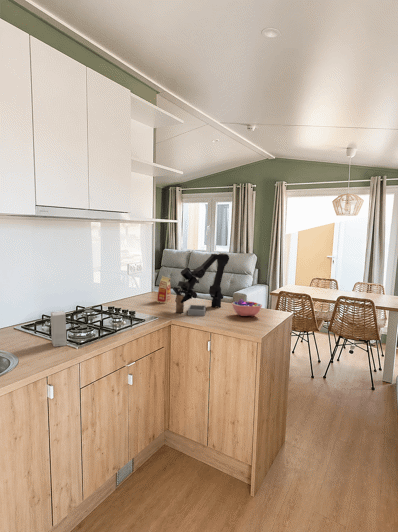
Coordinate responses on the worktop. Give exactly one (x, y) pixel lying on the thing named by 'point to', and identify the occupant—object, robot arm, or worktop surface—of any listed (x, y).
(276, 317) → the worktop surface
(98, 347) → the worktop surface
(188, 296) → the robot arm
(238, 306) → the cell model
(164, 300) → the milk carton
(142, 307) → the worktop surface
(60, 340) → the skincare box
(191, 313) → the box
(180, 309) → the walnut cylinder
